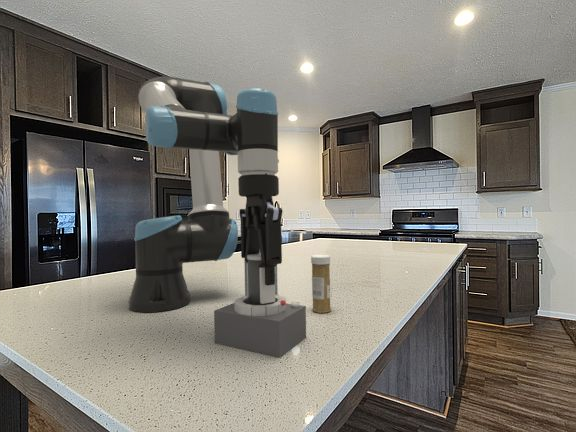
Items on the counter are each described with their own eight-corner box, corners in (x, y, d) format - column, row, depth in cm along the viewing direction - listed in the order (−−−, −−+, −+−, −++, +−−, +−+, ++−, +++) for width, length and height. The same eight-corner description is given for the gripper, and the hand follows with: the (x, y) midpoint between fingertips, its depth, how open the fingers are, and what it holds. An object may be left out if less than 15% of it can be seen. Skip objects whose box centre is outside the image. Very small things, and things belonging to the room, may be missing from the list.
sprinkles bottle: (334, 311, 81) (334, 255, 81) (320, 314, 79) (319, 257, 78) (322, 307, 85) (321, 253, 85) (308, 310, 82) (307, 255, 82)
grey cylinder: (250, 313, 60) (249, 257, 60) (246, 305, 66) (245, 254, 65) (279, 310, 62) (278, 256, 62) (273, 303, 67) (272, 252, 67)
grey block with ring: (214, 342, 63) (213, 299, 63) (246, 326, 71) (245, 288, 71) (279, 357, 56) (279, 308, 56) (306, 337, 65) (305, 295, 65)
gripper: (301, 170, 57) (303, 307, 58) (256, 180, 73) (258, 287, 73) (261, 168, 54) (264, 314, 54) (222, 179, 69) (225, 292, 69)
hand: (260, 298), depth 64 cm, fingers closed on grey cylinder, 5 cm apart
